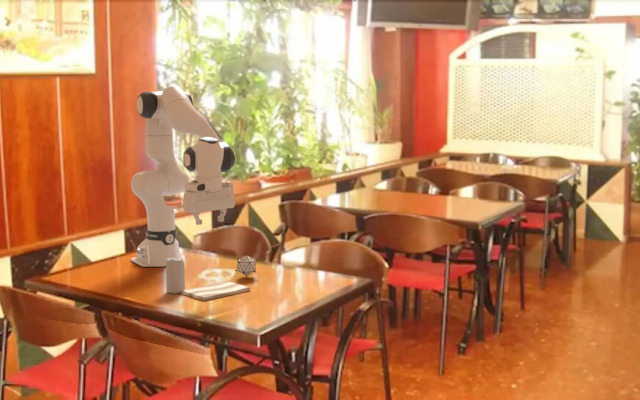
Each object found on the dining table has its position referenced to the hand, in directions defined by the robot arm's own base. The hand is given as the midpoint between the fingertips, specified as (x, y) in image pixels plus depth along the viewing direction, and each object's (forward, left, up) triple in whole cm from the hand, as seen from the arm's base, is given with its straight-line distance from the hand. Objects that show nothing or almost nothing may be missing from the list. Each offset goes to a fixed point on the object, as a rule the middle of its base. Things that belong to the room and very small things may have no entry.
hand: (210, 223), depth 269 cm
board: (+3, 0, -25) cm, 25 cm away
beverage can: (-7, -10, -25) cm, 28 cm away
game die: (-6, +21, -25) cm, 33 cm away
